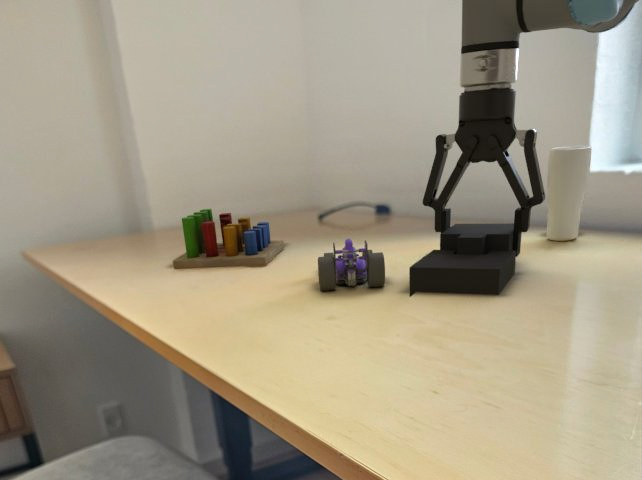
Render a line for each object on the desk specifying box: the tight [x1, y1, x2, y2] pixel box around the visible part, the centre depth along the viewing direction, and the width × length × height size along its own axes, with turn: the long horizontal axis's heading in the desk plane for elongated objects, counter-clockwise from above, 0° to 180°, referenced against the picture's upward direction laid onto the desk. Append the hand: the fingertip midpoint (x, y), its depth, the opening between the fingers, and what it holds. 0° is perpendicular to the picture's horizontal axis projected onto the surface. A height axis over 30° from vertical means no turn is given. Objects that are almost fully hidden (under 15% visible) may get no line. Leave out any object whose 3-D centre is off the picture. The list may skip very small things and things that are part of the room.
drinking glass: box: [545, 145, 593, 242], centre depth 115 cm, size 7×7×15 cm
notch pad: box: [408, 249, 517, 297], centre depth 92 cm, size 12×12×4 cm
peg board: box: [172, 208, 285, 270], centre depth 123 cm, size 18×17×9 cm
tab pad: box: [439, 223, 514, 254], centre depth 98 cm, size 10×12×4 cm
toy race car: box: [317, 238, 386, 292], centre depth 100 cm, size 10×15×6 cm, turn 179°
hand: (479, 254), depth 100 cm, fingers closed on tab pad, 10 cm apart
